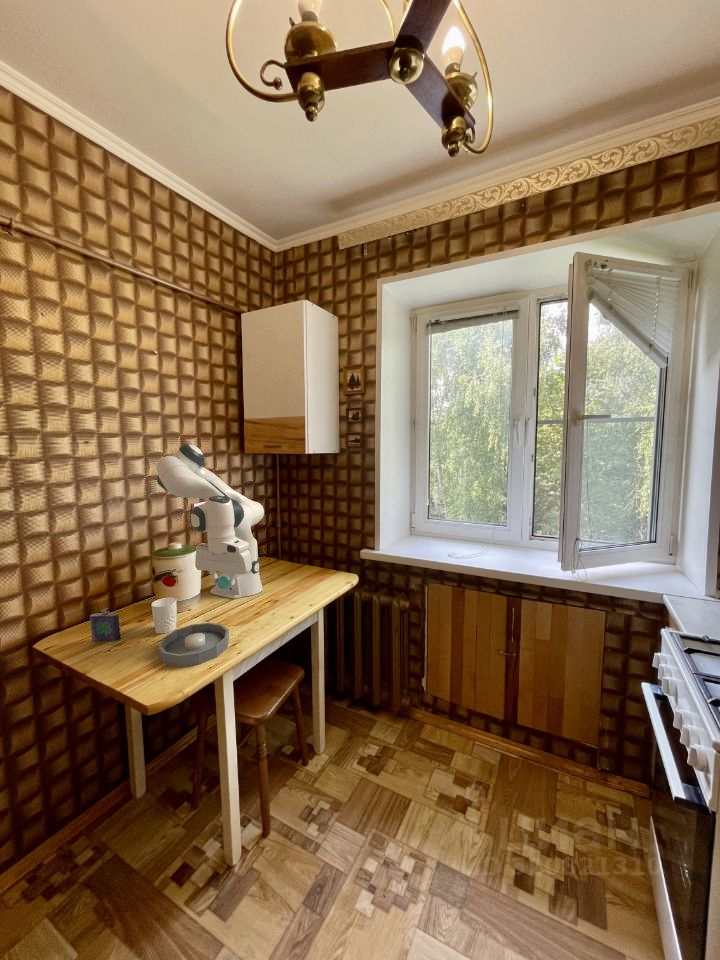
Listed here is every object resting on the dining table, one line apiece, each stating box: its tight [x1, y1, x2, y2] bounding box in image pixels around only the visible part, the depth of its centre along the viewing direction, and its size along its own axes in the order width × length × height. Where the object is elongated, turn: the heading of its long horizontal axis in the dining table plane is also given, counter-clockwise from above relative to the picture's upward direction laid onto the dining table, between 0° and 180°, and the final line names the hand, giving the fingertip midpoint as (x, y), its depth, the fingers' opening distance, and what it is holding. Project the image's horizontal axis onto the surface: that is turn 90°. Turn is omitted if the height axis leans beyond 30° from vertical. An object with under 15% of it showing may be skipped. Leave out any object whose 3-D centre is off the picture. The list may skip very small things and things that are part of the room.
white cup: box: [151, 597, 178, 635], centre depth 134 cm, size 8×8×10 cm
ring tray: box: [157, 622, 230, 668], centre depth 122 cm, size 20×20×4 cm
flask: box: [89, 607, 122, 643], centre depth 128 cm, size 9×3×11 cm, turn 90°
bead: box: [217, 576, 230, 589], centre depth 131 cm, size 4×4×4 cm
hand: (224, 583), depth 131 cm, fingers closed on bead, 4 cm apart
